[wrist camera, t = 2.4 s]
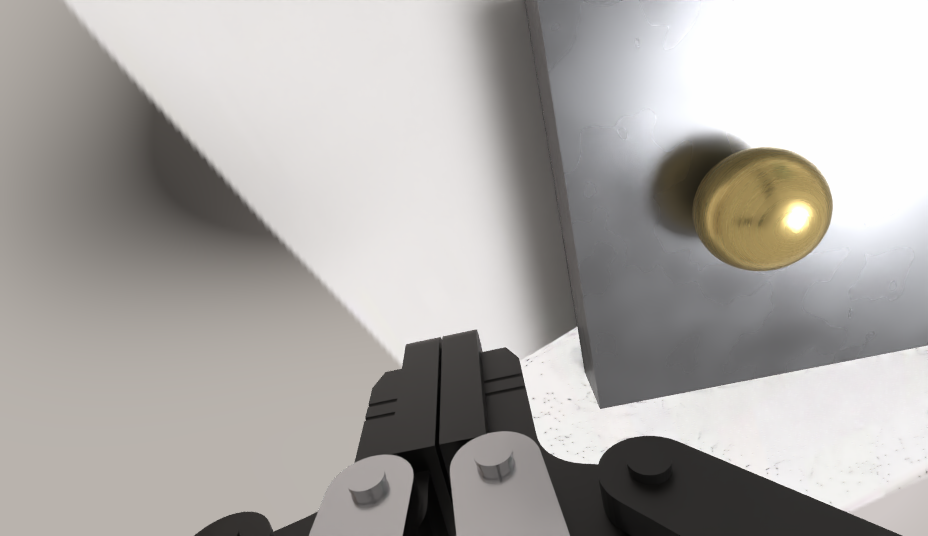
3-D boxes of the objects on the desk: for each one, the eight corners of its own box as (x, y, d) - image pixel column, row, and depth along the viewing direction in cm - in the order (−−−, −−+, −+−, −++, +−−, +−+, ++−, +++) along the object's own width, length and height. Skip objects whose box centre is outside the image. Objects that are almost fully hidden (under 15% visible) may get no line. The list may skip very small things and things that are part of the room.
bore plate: (524, -3, 18) (535, -12, 15) (1338, -197, 16) (1486, -239, 14) (584, 371, 23) (600, 408, 20) (1210, 247, 21) (1303, 272, 19)
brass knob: (670, 151, 17) (721, 176, 14) (786, 126, 17) (868, 144, 13) (678, 257, 18) (728, 302, 15) (787, 235, 18) (861, 275, 15)
